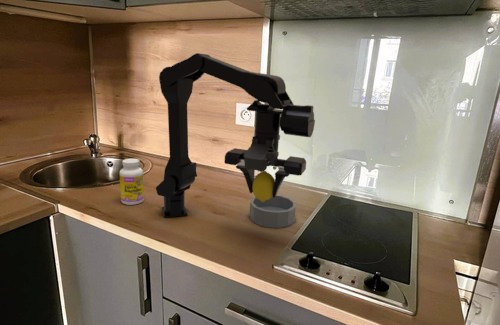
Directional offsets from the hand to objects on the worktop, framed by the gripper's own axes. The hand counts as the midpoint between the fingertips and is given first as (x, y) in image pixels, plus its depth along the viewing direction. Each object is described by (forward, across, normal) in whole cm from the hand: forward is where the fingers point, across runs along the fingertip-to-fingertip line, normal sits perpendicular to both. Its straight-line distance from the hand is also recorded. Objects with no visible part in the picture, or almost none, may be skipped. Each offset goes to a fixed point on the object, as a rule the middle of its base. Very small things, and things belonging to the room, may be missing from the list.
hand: (262, 194), depth 78 cm
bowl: (+11, 0, +11) cm, 16 cm away
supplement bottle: (+11, -42, +3) cm, 43 cm away
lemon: (+2, 0, 0) cm, 2 cm away
